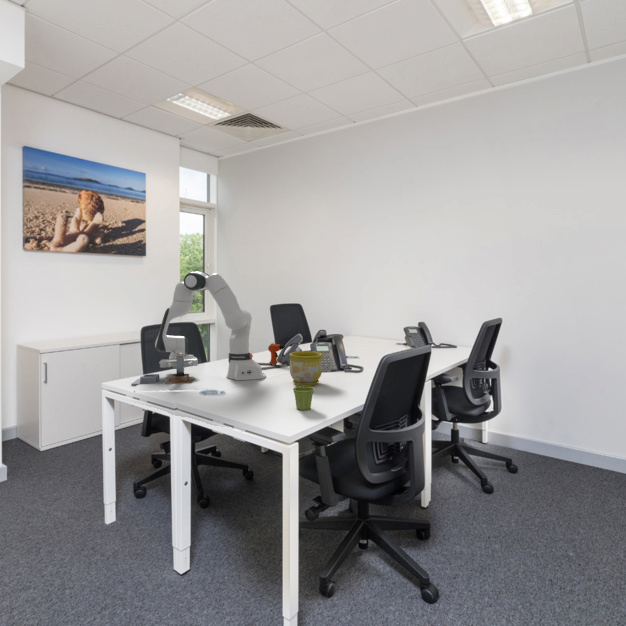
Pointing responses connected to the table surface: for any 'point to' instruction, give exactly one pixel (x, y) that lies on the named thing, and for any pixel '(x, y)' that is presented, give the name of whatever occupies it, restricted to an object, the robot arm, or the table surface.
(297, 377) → the flowerpot
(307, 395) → the plant pot
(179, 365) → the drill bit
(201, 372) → the table surface
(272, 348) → the toy drill
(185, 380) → the socket block
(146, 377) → the rack block
